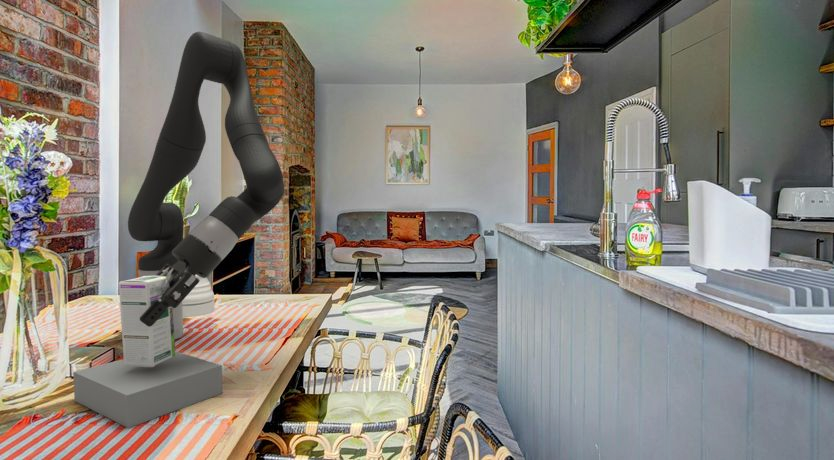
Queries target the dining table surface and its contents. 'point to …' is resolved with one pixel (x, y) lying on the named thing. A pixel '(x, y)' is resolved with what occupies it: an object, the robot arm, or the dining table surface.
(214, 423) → the dining table surface
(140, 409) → the block
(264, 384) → the dining table surface
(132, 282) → the syrup box
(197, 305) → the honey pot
